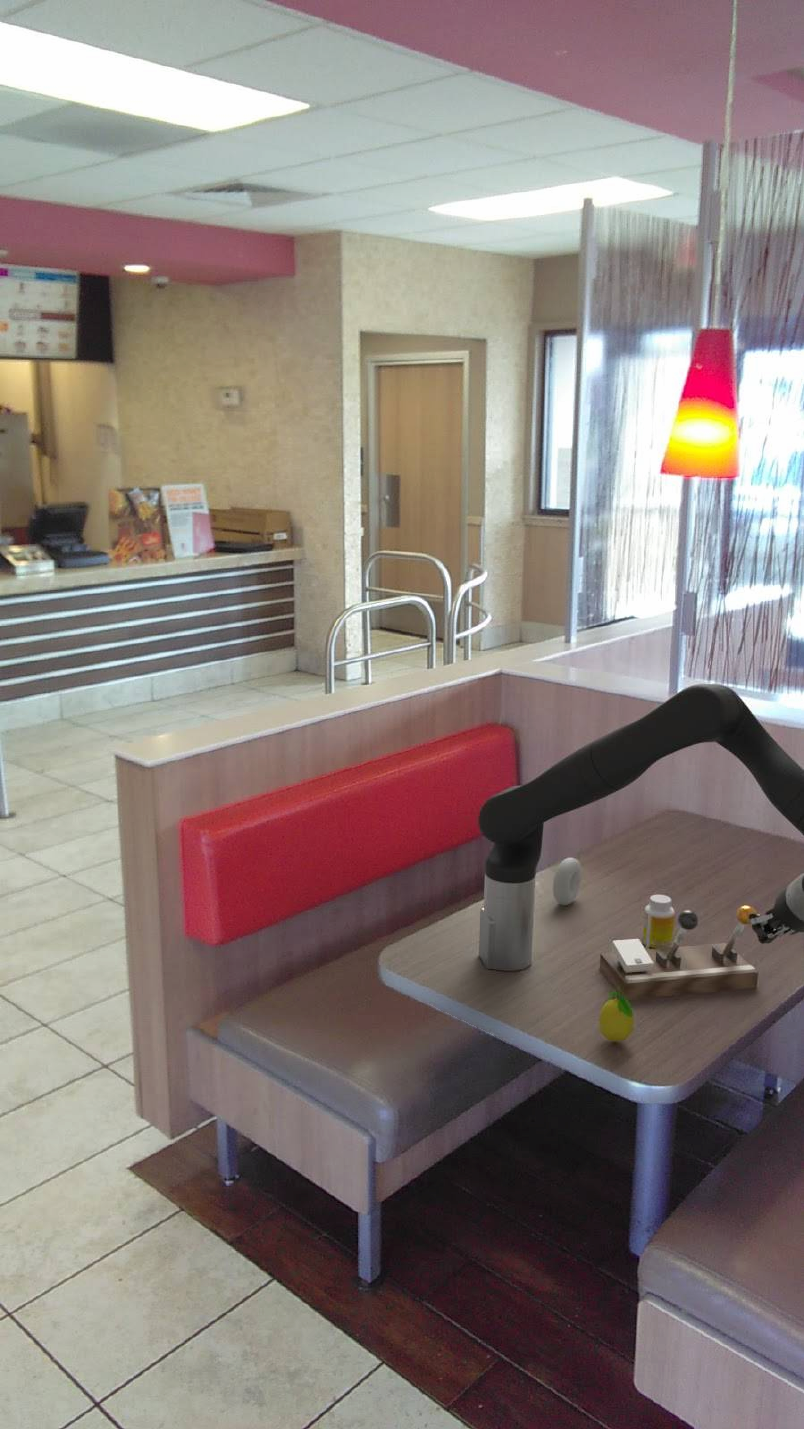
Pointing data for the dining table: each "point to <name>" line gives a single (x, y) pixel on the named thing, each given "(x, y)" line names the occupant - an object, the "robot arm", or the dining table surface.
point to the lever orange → (739, 927)
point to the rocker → (632, 955)
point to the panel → (682, 972)
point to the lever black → (682, 930)
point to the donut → (567, 881)
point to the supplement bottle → (658, 923)
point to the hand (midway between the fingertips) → (762, 938)
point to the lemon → (616, 1018)
